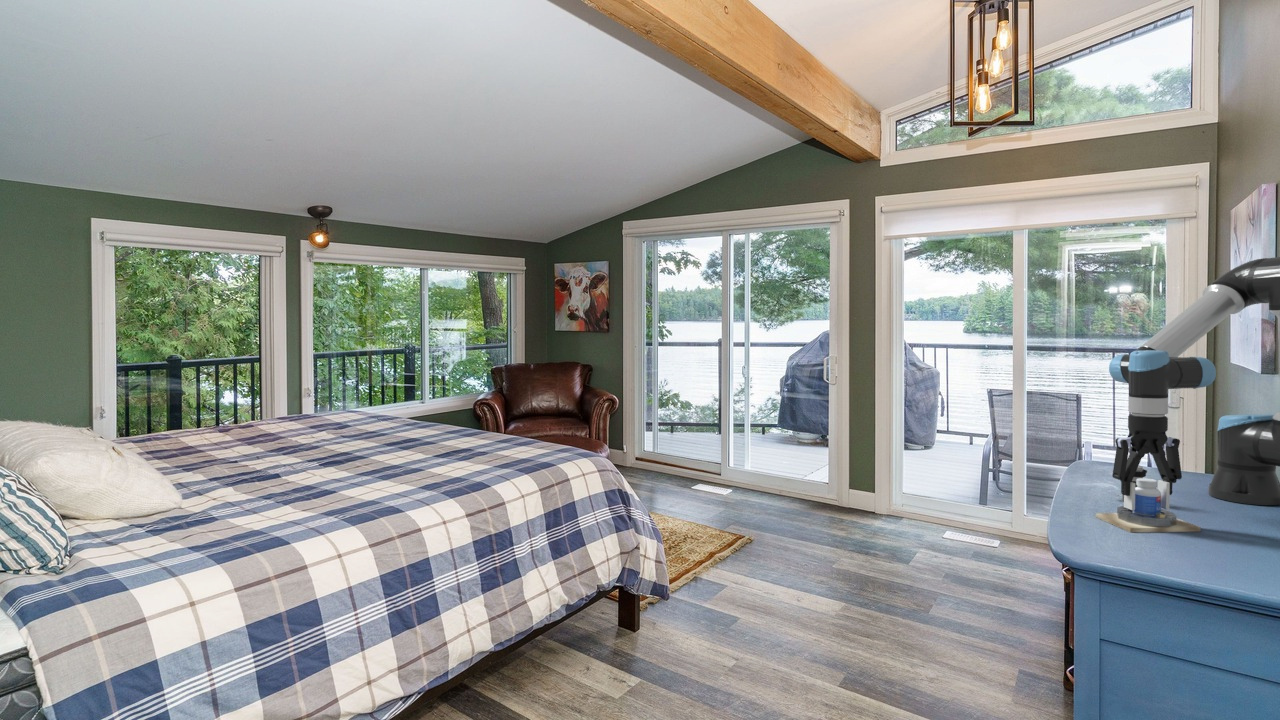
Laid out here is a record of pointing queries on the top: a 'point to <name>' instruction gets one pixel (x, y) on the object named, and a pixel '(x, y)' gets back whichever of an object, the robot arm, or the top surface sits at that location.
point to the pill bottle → (1147, 497)
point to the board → (1130, 527)
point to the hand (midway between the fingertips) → (1146, 508)
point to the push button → (1136, 477)
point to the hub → (1147, 518)
